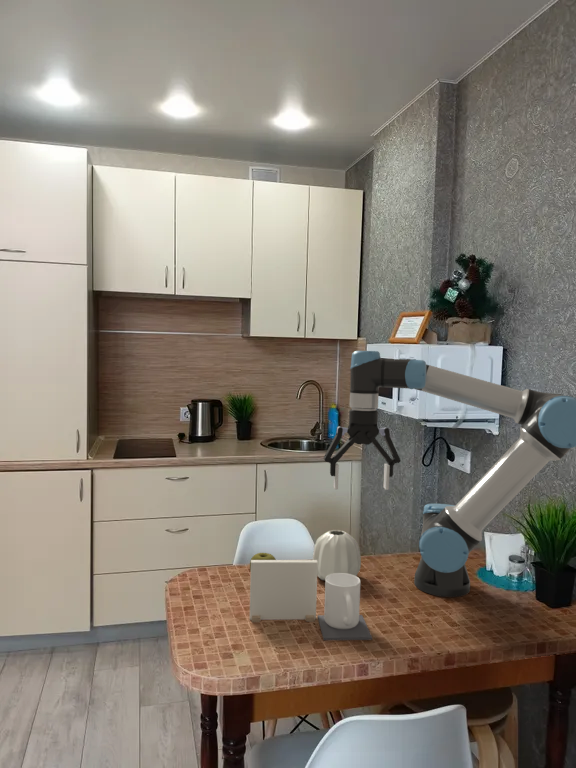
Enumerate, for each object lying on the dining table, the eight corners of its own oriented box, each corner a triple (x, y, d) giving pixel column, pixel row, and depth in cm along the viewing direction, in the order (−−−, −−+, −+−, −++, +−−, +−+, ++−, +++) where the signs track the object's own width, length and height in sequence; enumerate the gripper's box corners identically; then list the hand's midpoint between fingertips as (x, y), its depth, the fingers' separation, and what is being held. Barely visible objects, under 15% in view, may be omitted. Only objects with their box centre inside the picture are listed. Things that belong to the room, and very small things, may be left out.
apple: (260, 572, 166) (261, 548, 166) (282, 579, 162) (283, 554, 161) (243, 580, 160) (244, 555, 160) (266, 587, 155) (266, 562, 155)
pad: (362, 617, 139) (362, 614, 139) (371, 639, 128) (372, 637, 128) (317, 617, 138) (317, 615, 138) (323, 640, 127) (323, 637, 127)
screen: (314, 613, 140) (316, 558, 140) (316, 621, 136) (318, 564, 136) (249, 614, 139) (250, 558, 138) (249, 622, 135) (251, 564, 134)
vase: (302, 579, 162) (304, 533, 161) (327, 565, 173) (329, 522, 172) (345, 592, 154) (347, 543, 153) (368, 576, 165) (370, 531, 165)
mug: (367, 637, 128) (369, 592, 128) (331, 639, 127) (333, 593, 126) (353, 613, 140) (355, 572, 139) (320, 614, 139) (322, 573, 138)
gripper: (405, 408, 155) (403, 485, 156) (315, 406, 153) (312, 484, 154) (414, 411, 147) (410, 492, 149) (318, 409, 146) (316, 491, 147)
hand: (360, 488), depth 151 cm, fingers open, 13 cm apart
